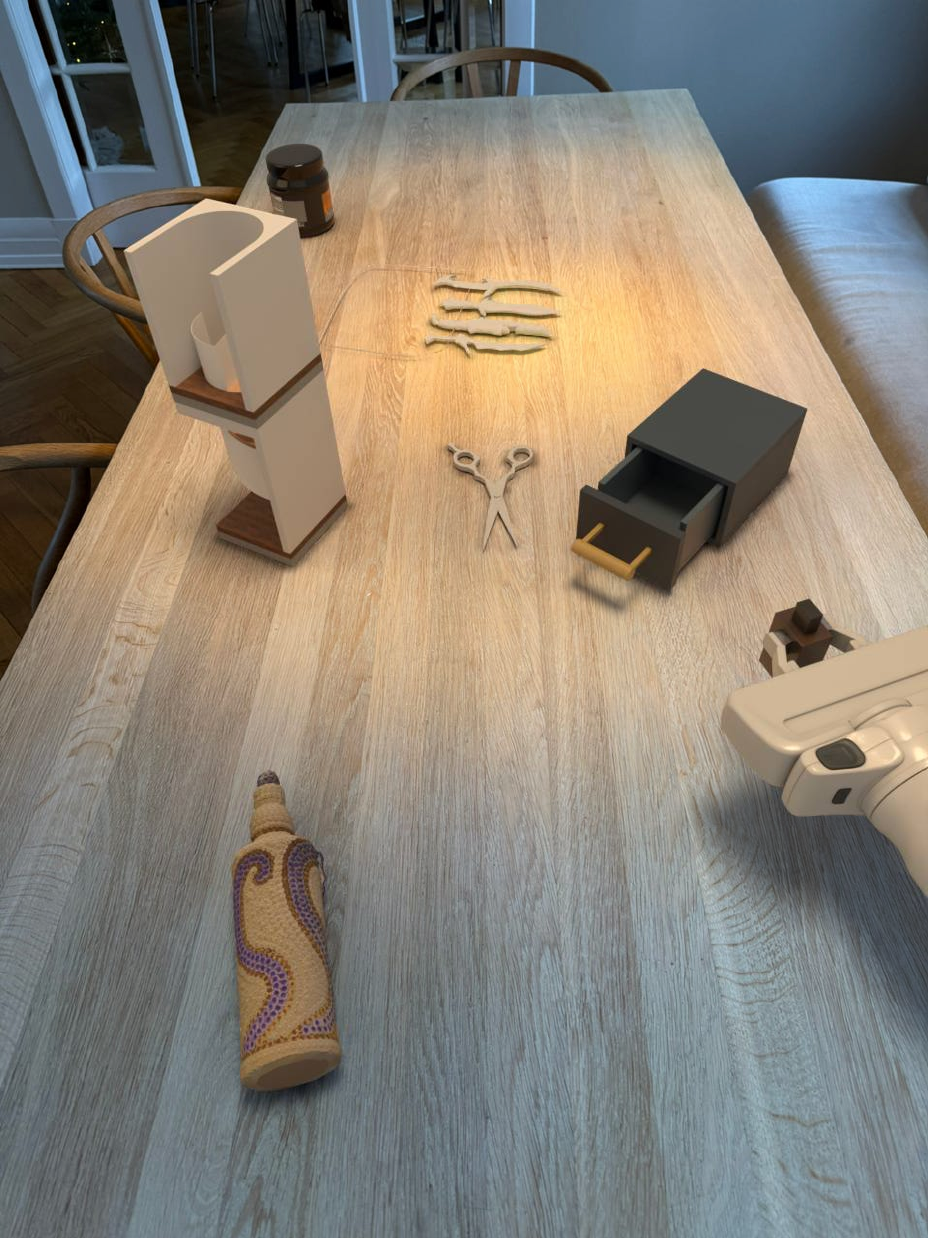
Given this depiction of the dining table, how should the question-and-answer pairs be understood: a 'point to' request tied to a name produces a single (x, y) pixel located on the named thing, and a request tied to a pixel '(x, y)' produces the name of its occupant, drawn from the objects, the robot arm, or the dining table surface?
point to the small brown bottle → (800, 635)
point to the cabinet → (725, 440)
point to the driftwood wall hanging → (484, 314)
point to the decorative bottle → (281, 951)
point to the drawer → (647, 517)
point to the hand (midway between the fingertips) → (793, 628)
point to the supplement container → (300, 187)
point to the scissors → (493, 489)
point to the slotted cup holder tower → (247, 365)
